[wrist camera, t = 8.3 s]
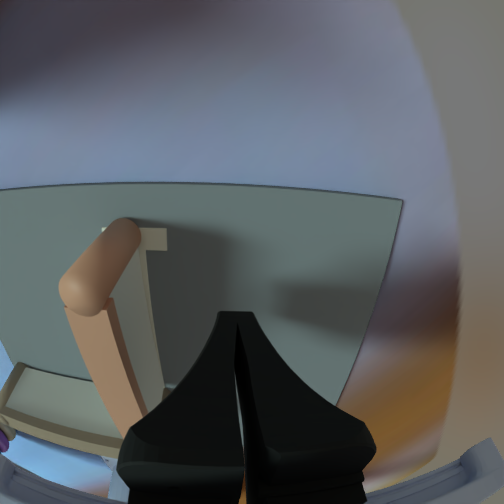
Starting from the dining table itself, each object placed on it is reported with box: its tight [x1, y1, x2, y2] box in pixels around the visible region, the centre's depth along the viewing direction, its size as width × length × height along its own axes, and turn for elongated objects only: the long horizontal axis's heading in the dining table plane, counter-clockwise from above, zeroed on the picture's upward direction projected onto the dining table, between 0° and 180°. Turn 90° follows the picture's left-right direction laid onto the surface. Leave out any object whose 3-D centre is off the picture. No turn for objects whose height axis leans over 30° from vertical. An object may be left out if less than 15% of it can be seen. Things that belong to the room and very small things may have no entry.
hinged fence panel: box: [59, 218, 164, 439], centre depth 12 cm, size 10×2×5 cm, turn 178°
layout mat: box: [0, 182, 402, 446], centre depth 16 cm, size 20×24×1 cm
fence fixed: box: [0, 362, 171, 459], centre depth 14 cm, size 2×12×5 cm, turn 86°
